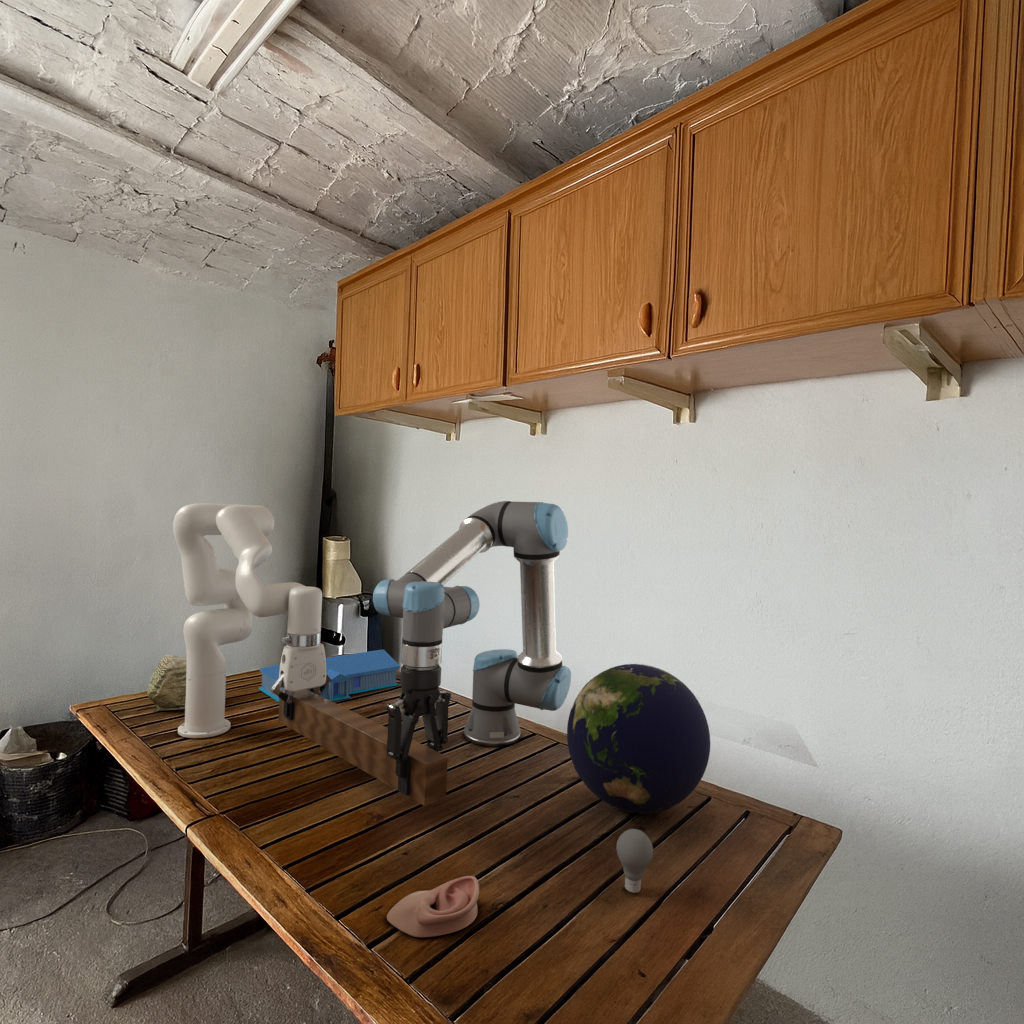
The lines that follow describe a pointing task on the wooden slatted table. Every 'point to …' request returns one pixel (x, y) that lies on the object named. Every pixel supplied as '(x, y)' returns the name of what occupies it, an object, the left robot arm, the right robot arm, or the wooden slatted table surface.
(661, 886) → the wooden slatted table surface
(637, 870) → the light bulb
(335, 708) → the beam
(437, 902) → the anatomical model
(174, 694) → the fossil
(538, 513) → the right robot arm
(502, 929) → the wooden slatted table surface
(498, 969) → the wooden slatted table surface
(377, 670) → the model building
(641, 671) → the globe
